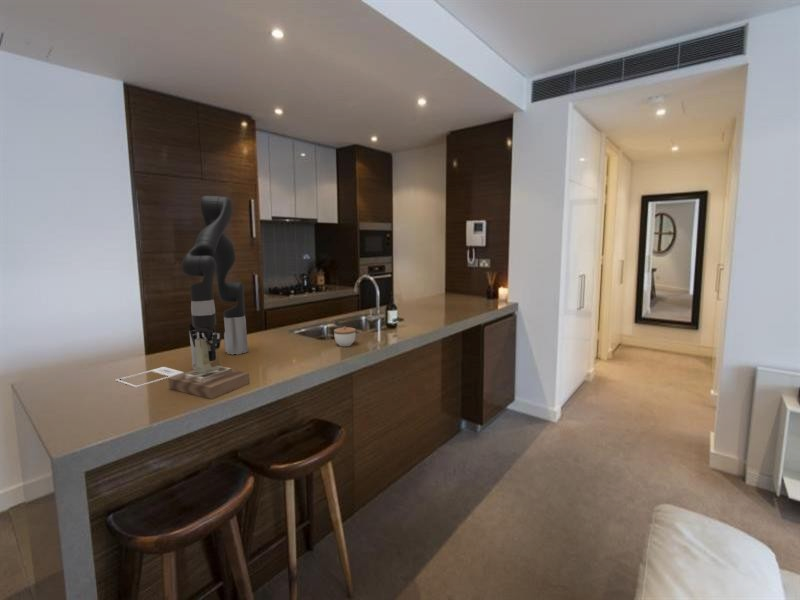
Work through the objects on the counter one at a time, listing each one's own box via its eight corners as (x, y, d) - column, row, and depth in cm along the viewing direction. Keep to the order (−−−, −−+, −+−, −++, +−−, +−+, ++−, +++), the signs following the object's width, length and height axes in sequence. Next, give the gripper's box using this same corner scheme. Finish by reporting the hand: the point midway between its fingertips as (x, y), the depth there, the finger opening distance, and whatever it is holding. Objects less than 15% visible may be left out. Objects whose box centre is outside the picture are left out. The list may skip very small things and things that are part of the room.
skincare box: (204, 374, 141) (201, 340, 139) (196, 372, 143) (193, 339, 141) (220, 369, 146) (217, 336, 144) (212, 367, 148) (209, 335, 146)
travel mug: (193, 373, 159) (188, 324, 156) (193, 369, 165) (188, 321, 162) (210, 371, 162) (206, 322, 159) (209, 366, 168) (205, 319, 165)
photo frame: (183, 371, 160) (135, 386, 145) (184, 374, 160) (135, 389, 145) (163, 366, 167) (115, 379, 152) (163, 368, 167) (115, 382, 152)
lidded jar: (354, 347, 194) (353, 328, 193) (332, 347, 195) (331, 328, 193) (357, 342, 205) (356, 324, 204) (336, 342, 205) (335, 324, 204)
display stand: (169, 388, 143) (168, 374, 142) (208, 375, 157) (207, 361, 156) (211, 399, 133) (210, 383, 132) (249, 383, 147) (248, 369, 147)
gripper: (180, 313, 141) (185, 360, 144) (208, 316, 135) (212, 365, 137) (199, 309, 148) (203, 354, 150) (226, 312, 141) (230, 359, 144)
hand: (207, 359), depth 144 cm, fingers closed on skincare box, 4 cm apart
